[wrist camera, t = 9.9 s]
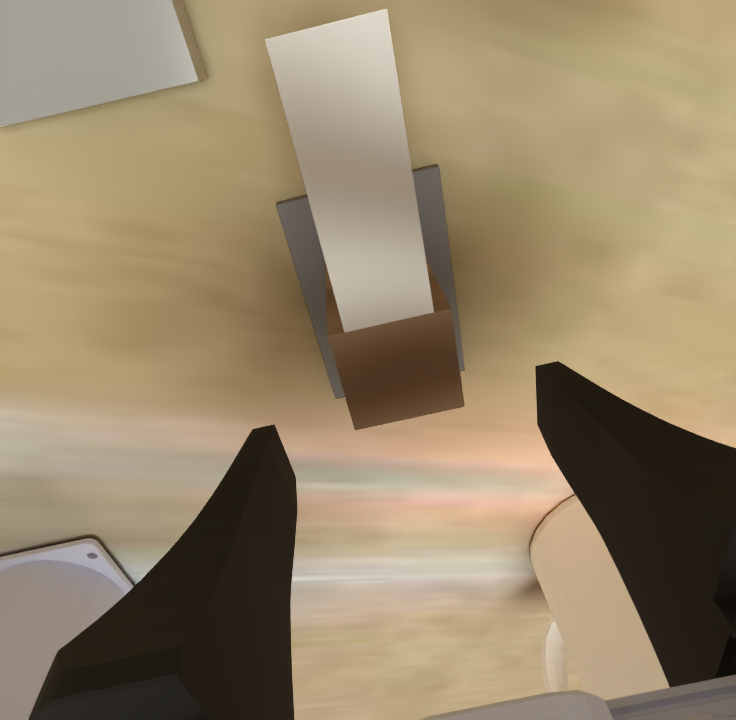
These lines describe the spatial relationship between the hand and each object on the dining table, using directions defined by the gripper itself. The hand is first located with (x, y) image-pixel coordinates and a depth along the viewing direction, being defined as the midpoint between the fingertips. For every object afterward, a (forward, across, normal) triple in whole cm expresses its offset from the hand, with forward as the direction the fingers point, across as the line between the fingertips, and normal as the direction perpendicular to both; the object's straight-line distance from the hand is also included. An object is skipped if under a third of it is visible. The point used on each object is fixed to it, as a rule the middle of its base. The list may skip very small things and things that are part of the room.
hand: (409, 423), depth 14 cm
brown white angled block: (+8, 0, -4) cm, 9 cm away
